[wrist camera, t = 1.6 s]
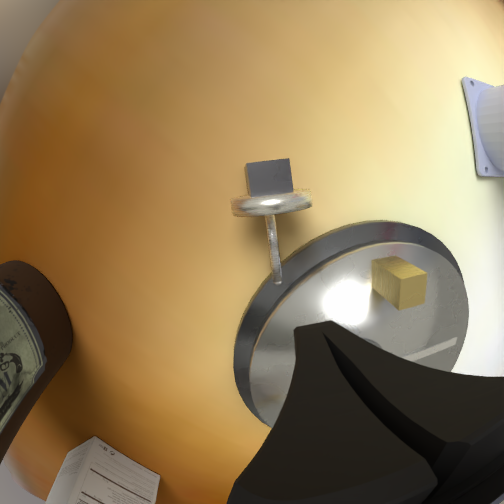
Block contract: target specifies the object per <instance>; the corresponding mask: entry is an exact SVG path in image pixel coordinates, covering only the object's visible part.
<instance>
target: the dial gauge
mask: <svg viewBox="0 0 504 504" xmlns="http://www.w3.org/2000/svg"><path fill="white" fill-rule="evenodd" d="M245 175H246V182H247V189H248V195H245V196H240V197H236V198H232V199H230V201H231V207H232V214H233V216H237V217H252V216H265V221H266V228H267V236H268V244H269V252H270V260H271V268H272V276H273V282H274V284H275V285H280V284H281V283H282V273H281V264H280V255H279V247H278V238H277V230H276V222H275V214H281V213H288V212H293V211H299V210H303V209H307V208H309V207H311V206H312V197H311V190H310V189H293V184H292V176H291V168H290V161H289V158H288V159H279V160H270V161H262V162H254V163H246V165H245Z"/></svg>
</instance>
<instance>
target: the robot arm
mask: <svg viewBox="0 0 504 504" xmlns="http://www.w3.org/2000/svg"><path fill="white" fill-rule="evenodd" d="M462 84H463V88H464V92H465V97H466V101H467V106H468V111H469V116H470V122H471V128H472V134H473V141H474V149H475V158H476V169H477V173H478V175H479V176H496V177H504V85H501V86H496V87H494V86H492V85H489V84H486V83H484V82H481V81H478V80H475V79H472V78H469V77H463V78H462ZM293 332H294V344H295V357H296V359H295V366H294V371H293V375H292V380H291V383H290V387H289V390H288V393H287V396H286V399H285V402H284V404H283V406H282V409H281V411H280V413H279V416H278V418H277V420H276V422H275V424H274V426H273V428H272V429H271V431H270V433H269V435H268V436H267V438H266V440H265V441H264V443H263V445H262V446H261V448H260V449H259V451H258V452H257V454H256V455H255V457H254V458H253V459H252V460H251V462H250V463H249V464H248V466H247V467H246V468H245V469H244V471H243V472H242V473H241V474H240V476H239V477H238V478H237V479H236V480H235V482H234V485H233V487H232V490H231V493H230V495H229V498H228V501H227V504H499V503H501V502H502V501H503V500H504V377H484V376H473V375H464V374H458V373H452V372H447V371H443V370H439V369H434V368H431V367H427V366H424V365H420V364H418V363H415V362H412V361H409V360H406V359H403V358H401V357H399V356H396V355H394V354H392V353H390V352H387V351H385V350H383V349H381V348H379V347H377V346H375V345H373V344H371V343H370V342H368V341H366V340H364V339H362V338H361V337H359V336H357V335H356V334H354V333H352V332H351V331H349V330H347V329H346V328H344V327H342V326H341V325H339V324H337V323H336V322H334V321H332V320H329V321H324V322H319V323H314V324H309V325H303V326H297V327H296V328H295V329H294V330H293Z"/></svg>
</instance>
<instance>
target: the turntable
mask: <svg viewBox="0 0 504 504" xmlns="http://www.w3.org/2000/svg"><path fill="white" fill-rule="evenodd" d="M468 317H469V307H468V298H467V293H466V289H465V286H464V283H463V281H462V279H461V277H460V275H459V273H458V272H457V270H456V269H455V268H454V266H453V265H452V264H451V263H450V262H449V261H448V260H447V259H445V258H444V257H443V256H441V255H440V254H439V253H437V252H434V251H432V250H430V249H428V248H426V247H424V246H421V245H419V244H416V243H412V242H408V241H404V240H392V239H388V240H376V241H371V242H366V243H362V244H357V245H355V246H352V247H349V248H347V249H344V250H341V251H339V252H337V253H335V254H333V255H331V256H330V257H328V258H326V259H324V260H322V261H321V262H319V263H318V264H316V265H315V266H313V267H312V268H310V269H309V270H307V271H306V272H305V273H304V274H303V275H301V276H300V277H299V278H298V279H297V280H296V281H294V282H293V283H292V284H291V285H290V286H289V287H288V288H287V289H286V290H285V291H284V293H283V294H282V295H281V296H280V297H279V298H278V299H277V301H276V302H275V303H274V305H273V306H272V307H271V309H270V310H269V311H268V313H267V315H266V316H265V318H264V320H263V322H262V323H261V325H260V327H259V329H258V332H257V334H256V337H255V339H254V342H253V346H252V350H251V354H250V362H249V379H250V390H251V396H252V399H253V402H254V405H255V407H256V409H257V411H258V413H259V415H260V416H261V417H262V419H263V420H264V421H265V422H266V423H267V424H268V425H269V426H270V427H271V428H273V426H274V424H275V422H276V420H277V418H278V416H279V413H280V411H281V409H282V406H283V404H284V402H285V399H286V396H287V393H288V390H289V387H290V383H291V380H292V375H293V371H294V366H295V359H296V357H295V344H294V332H293V330H294V329H295V328H296V327H297V326H303V325H309V324H314V323H319V322H324V321H329V320H332V321H334V322H336V323H337V324H339V325H341V326H342V327H344V328H346V329H347V330H349V331H351V332H352V333H354V334H356V335H357V336H359V337H363V338H368V339H371V340H373V341H375V342H377V343H378V344H379V345H380V346H381V347H382V348H383V350H385V351H387V352H390V353H392V354H394V355H396V356H399V357H401V358H403V359H406V360H409V361H412V362H415V363H418V364H420V365H424V366H427V367H431V368H434V369H439V370H443V371H447V372H451V370H452V369H453V367H454V365H455V363H456V361H457V359H458V357H459V354H460V352H461V349H462V347H463V343H464V340H465V337H466V332H467V327H468Z"/></svg>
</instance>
